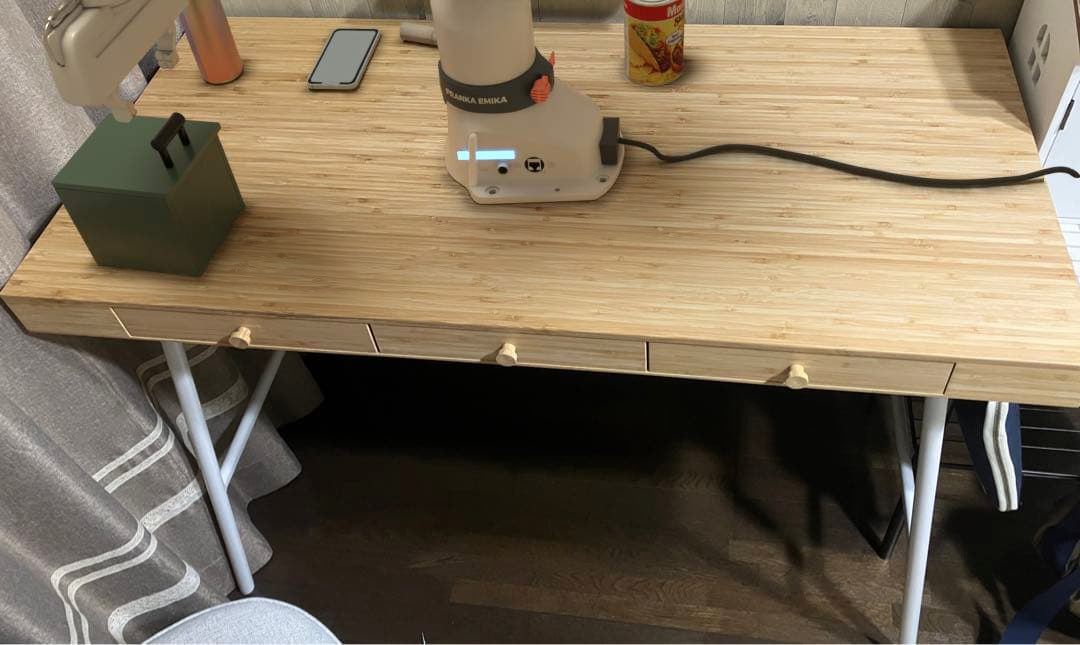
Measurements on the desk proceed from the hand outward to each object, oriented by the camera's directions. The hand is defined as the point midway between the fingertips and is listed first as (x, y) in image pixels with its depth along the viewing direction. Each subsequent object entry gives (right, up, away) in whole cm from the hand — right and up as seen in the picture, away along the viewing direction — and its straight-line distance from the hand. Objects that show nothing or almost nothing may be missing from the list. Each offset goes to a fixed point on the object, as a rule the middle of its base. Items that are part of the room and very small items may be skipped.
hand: (149, 91), depth 105 cm
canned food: (+56, +10, +32) cm, 66 cm away
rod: (+26, +16, +41) cm, 51 cm away
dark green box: (-4, -13, +17) cm, 22 cm away
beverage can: (-5, +12, +40) cm, 42 cm away
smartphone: (+13, +13, +39) cm, 44 cm away
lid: (-4, -6, +8) cm, 11 cm away
